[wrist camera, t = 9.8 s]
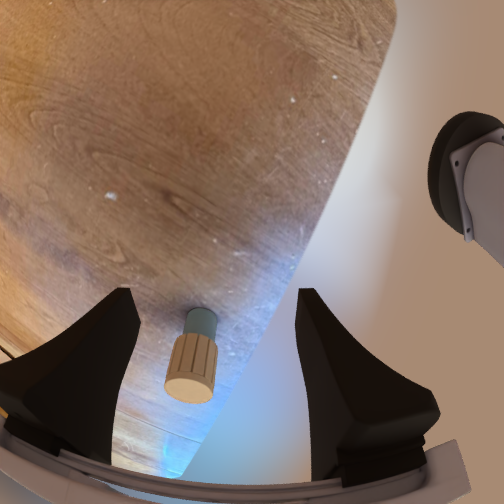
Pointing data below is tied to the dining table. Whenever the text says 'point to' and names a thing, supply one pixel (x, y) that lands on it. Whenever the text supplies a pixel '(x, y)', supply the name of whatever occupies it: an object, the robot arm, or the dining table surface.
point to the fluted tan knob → (192, 369)
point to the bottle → (201, 323)
